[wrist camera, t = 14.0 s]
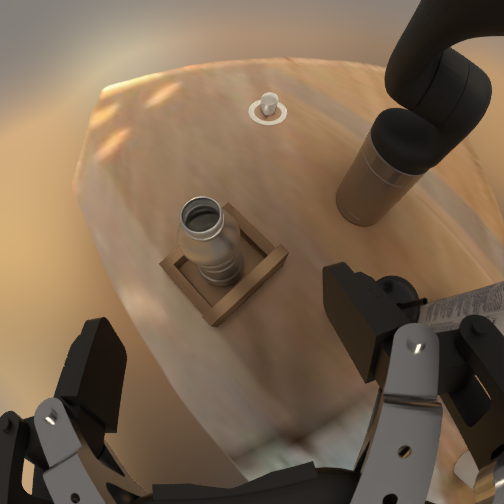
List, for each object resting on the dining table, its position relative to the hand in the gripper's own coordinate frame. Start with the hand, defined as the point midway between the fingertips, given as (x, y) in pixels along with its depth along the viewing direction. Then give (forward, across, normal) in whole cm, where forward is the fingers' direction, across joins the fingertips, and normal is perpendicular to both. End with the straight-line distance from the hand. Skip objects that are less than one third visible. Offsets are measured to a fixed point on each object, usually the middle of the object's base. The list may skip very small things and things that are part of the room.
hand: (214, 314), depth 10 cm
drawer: (+30, +1, +16) cm, 34 cm away
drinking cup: (+21, -17, +25) cm, 37 cm away
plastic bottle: (+30, +1, +16) cm, 34 cm away
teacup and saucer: (+52, -18, -4) cm, 55 cm away
